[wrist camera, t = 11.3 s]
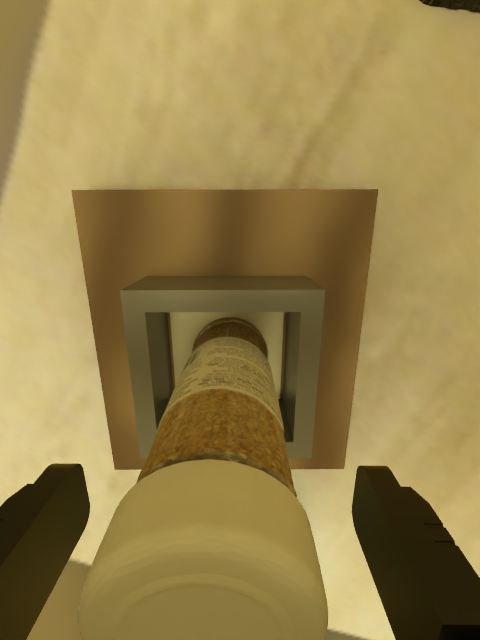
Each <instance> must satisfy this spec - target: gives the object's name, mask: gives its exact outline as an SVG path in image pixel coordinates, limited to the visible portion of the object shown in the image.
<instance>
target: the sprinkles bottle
mask: <svg viewBox="0 0 480 640" xmlns="http://www.w3.org/2000/svg"><path fill="white" fill-rule="evenodd" d="M296 497H297V495H296V492H295V490H294V486H293V481H292V477H291V470H290V465H289V462H288V456H287V452H286V443H285V438H284V427H283V422H282V417H281V412H280V408H279V402H278V397H277V393H276V389H275V384H274V380H273V375H272V371H271V367H270V364H269V362H268V349H267V345H266V342H265V340H264V338H263V336H262V335H261V333H260V331H259V330H257V329H256V328H255V327H254V326H253V325H251V324H249V323H247V322H246V321H244V320H240V319H235V318H225V319H220V320H217V321H214V322H212V323H210V324H209V325H207V326H205V327H204V328H203V330H202V331H201V332H200V333H199V334H198V336H197V338H196V339H195V341H194V344H193V349H192V353H191V355H190V356H189V358H188V359H187V362H186V364H185V366H184V368H183V371H182V373H181V375H180V377H179V380H178V382H177V384H176V387H175V389H174V391H173V394H172V396H171V398H170V401H169V403H168V405H167V408H166V410H165V412H164V414H163V416H162V419H161V421H160V423H159V426H158V429H157V433H156V437H155V440H154V442H153V444H152V447H151V450H150V453H149V455H148V457H147V459H146V461H145V464H144V467H143V469H142V470H141V472H140V475H139V477H138V480H137V483H136V484H135V485H134V486H133V487H132V488H131V489H130V490H129V491H128V492H127V494H126V495H125V496H124V498H123V499H122V500H121V502H120V504H119V505H118V507H117V509H116V511H115V513H114V515H113V517H112V520H111V522H110V524H109V526H108V529H107V531H106V533H105V535H104V538H103V540H102V542H101V544H100V546H99V549H98V551H97V554H96V556H95V559H94V561H93V564H92V566H91V569H90V571H89V574H88V576H87V579H86V581H85V584H84V587H83V590H82V593H81V597H80V602H79V611H78V621H79V629H80V634H81V637H82V640H325V637H326V632H327V626H328V608H327V599H326V594H325V590H324V585H323V580H322V575H321V570H320V565H319V561H318V557H317V552H316V548H315V543H314V539H313V535H312V531H311V527H310V523H309V520H308V517H307V514H306V512H305V510H304V508H303V507H302V505H301V503H300V502H299V501H298V499H297V498H296Z"/></svg>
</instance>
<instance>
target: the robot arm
mask: <svg viewBox="0 0 480 640" xmlns="http://www.w3.org/2000/svg"><path fill="white" fill-rule="evenodd" d="M89 512H90V502H89V497H88V492H87V487H86V481H85V476H84V471H83V467H82V466H81V465H80V464H51V465H49V466H48V467H47V468H46V469H45V470H44V472H43V473H42V474H41V475H40V477H39V478H38V479H37V480H36V481H35V483H34V484H27V485H26V486H24V487H23V488H22V489H20V490H19V491H18V492H16V493H15V494H14V495H12V496H11V497H10V498H8V499H7V500H6V501H5V502H4V503H3V504H2V505H1V507H0V640H26V639H27V637H28V635H29V633H30V631H31V629H32V627H33V625H34V624H35V622H36V620H37V618H38V616H39V614H40V612H41V610H42V609H43V607H44V605H45V603H46V601H47V599H48V597H49V595H50V593H51V592H52V590H53V588H54V586H55V584H56V582H57V580H58V578H59V576H60V575H61V573H62V571H63V569H64V567H65V565H66V563H67V561H68V560H69V558H70V556H71V554H72V552H73V550H74V548H75V546H76V545H77V543H78V541H79V539H80V537H81V535H82V533H83V531H84V529H85V527H86V525H87V522H88V518H89ZM352 516H353V523H354V527H355V531H356V534H357V536H358V539H359V542H360V545H361V547H362V550H363V553H364V555H365V558H366V561H367V563H368V566H369V569H370V571H371V574H372V577H373V580H374V582H375V585H376V588H377V590H378V593H379V596H380V598H381V601H382V604H383V607H384V609H385V612H386V615H387V617H388V620H389V623H390V625H391V628H392V631H393V634H394V636H395V639H396V640H480V578H479V577H478V575H477V574H476V572H475V571H474V569H473V568H472V566H471V565H470V563H469V562H468V560H467V559H466V557H465V556H464V554H463V553H462V551H461V550H460V548H459V547H458V546H456V545H455V542H454V540H453V538H452V537H451V535H450V534H449V532H448V531H447V529H446V528H444V527H443V523H442V522H441V520H440V519H439V517H438V516H437V514H436V513H435V512H434V510H433V509H432V507H431V506H430V504H429V503H428V502H427V501H426V500H425V499H423V498H422V497H421V496H420V495H419V494H418V493H417V492H416V491H414V490H413V489H412V488H411V487H401V486H400V485H399V483H398V481H397V480H396V478H395V477H394V475H393V473H392V472H391V470H390V469H389V468H388V467H387V466H359V467H358V468H357V473H356V481H355V488H354V496H353V503H352Z"/></svg>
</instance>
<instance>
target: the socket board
mask: <svg viewBox="0 0 480 640" xmlns="http://www.w3.org/2000/svg"><path fill="white" fill-rule="evenodd" d="M72 196H73V203H74V209H75V215H76V222H77V228H78V235H79V241H80V248H81V254H82V261H83V267H84V274H85V280H86V287H87V293H88V299H89V306H90V312H91V319H92V325H93V332H94V338H95V345H96V351H97V358H98V364H99V370H100V377H101V383H102V390H103V396H104V403H105V409H106V416H107V422H108V429H109V435H110V442H111V448H112V454H113V461H114V467H115V470H130V469H143V467H144V464H145V461H146V459H140V451H139V443H138V435H137V427H136V418H135V410H134V402H133V394H132V386H131V377H130V369H129V361H128V353H127V345H126V337H125V328H124V320H123V312H122V304H121V296H120V290H121V289H123V288H125V287H127V286H129V285H131V284H133V283H135V282H137V281H139V280H141V279H143V278H144V277H146V276H307V277H308V278H310V279H311V280H312V281H314V282H315V283H316V284H318V285H319V286H321V287H322V288H323V289H325V298H324V310H323V322H322V334H321V347H320V359H319V371H318V383H317V395H316V407H315V420H314V432H313V444H312V456H311V458H288V462H289V465H290V469H344V465H345V457H346V448H347V440H348V432H349V424H350V416H351V408H352V399H353V391H354V383H355V375H356V367H357V359H358V351H359V342H360V334H361V326H362V318H363V310H364V302H365V293H366V285H367V277H368V269H369V261H370V253H371V245H372V236H373V228H374V220H375V212H376V204H377V196H378V189H371V190H72ZM286 314H287V312H167V315H168V328H169V341H170V354H171V367H172V381H173V391H174V389H175V387H176V384H177V382H178V380H179V377H180V375H181V373H182V371H183V368H184V366H185V364H186V362H187V359H188V358H189V356H190V355H191V353H192V349H193V344H194V341H195V339H196V338H197V336H198V334H199V333H200V332H201V331H202V330H203V328H204V327H205V326H207V325H209V324H210V323H212V322H214V321H217V320H220V319H225V318H235V319H240V320H244V321H246V322H247V323H249V324H251V325H253V326H254V327H255V328H256V329H257V330H259V331H260V333H261V335H262V336H263V338H264V340H265V342H266V345H267V349H268V362H269V364H270V367H271V371H272V375H273V380H274V384H275V389H276V393H277V397H278V400H283V381H284V359H285V336H286Z"/></svg>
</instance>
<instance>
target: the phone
mask: <svg viewBox="0 0 480 640" xmlns="http://www.w3.org/2000/svg"><path fill="white" fill-rule="evenodd" d="M420 1H421V2H422V3H423V4H426V5H429V6H435V7H445V8H454V9H463V10H473V11H480V0H420Z"/></svg>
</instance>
